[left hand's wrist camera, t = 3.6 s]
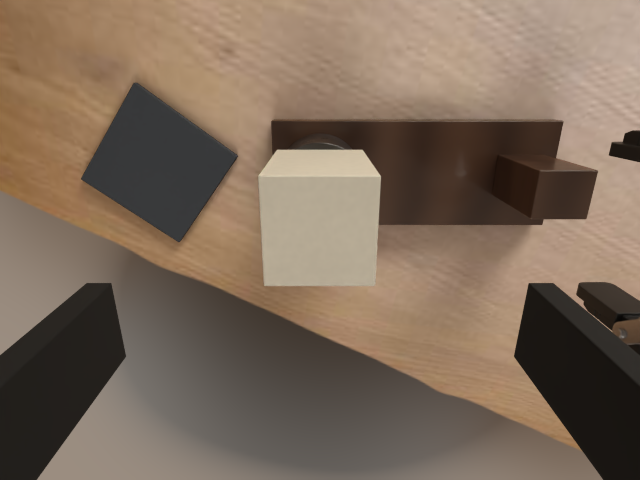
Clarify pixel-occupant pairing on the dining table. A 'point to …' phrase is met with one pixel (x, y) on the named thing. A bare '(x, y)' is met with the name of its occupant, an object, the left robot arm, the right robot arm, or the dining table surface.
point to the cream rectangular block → (319, 218)
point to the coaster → (158, 163)
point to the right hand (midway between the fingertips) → (607, 221)
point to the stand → (456, 168)
